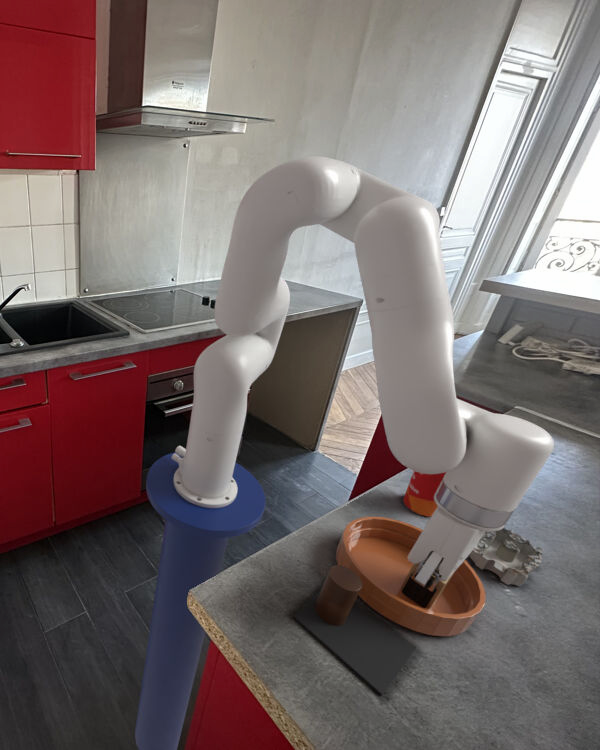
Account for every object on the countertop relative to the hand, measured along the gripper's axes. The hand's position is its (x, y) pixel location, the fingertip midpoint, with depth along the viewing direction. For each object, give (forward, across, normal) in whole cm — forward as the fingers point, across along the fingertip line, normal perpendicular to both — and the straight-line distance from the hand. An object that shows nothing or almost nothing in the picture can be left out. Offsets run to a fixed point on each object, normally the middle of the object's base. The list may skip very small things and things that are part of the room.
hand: (420, 590), depth 63 cm
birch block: (0, 0, 0) cm, 0 cm away
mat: (+1, +15, -3) cm, 15 cm away
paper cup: (+1, -22, -8) cm, 23 cm away
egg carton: (+1, -19, +5) cm, 20 cm away
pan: (+1, 0, -3) cm, 3 cm away
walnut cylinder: (0, +15, -6) cm, 16 cm away
